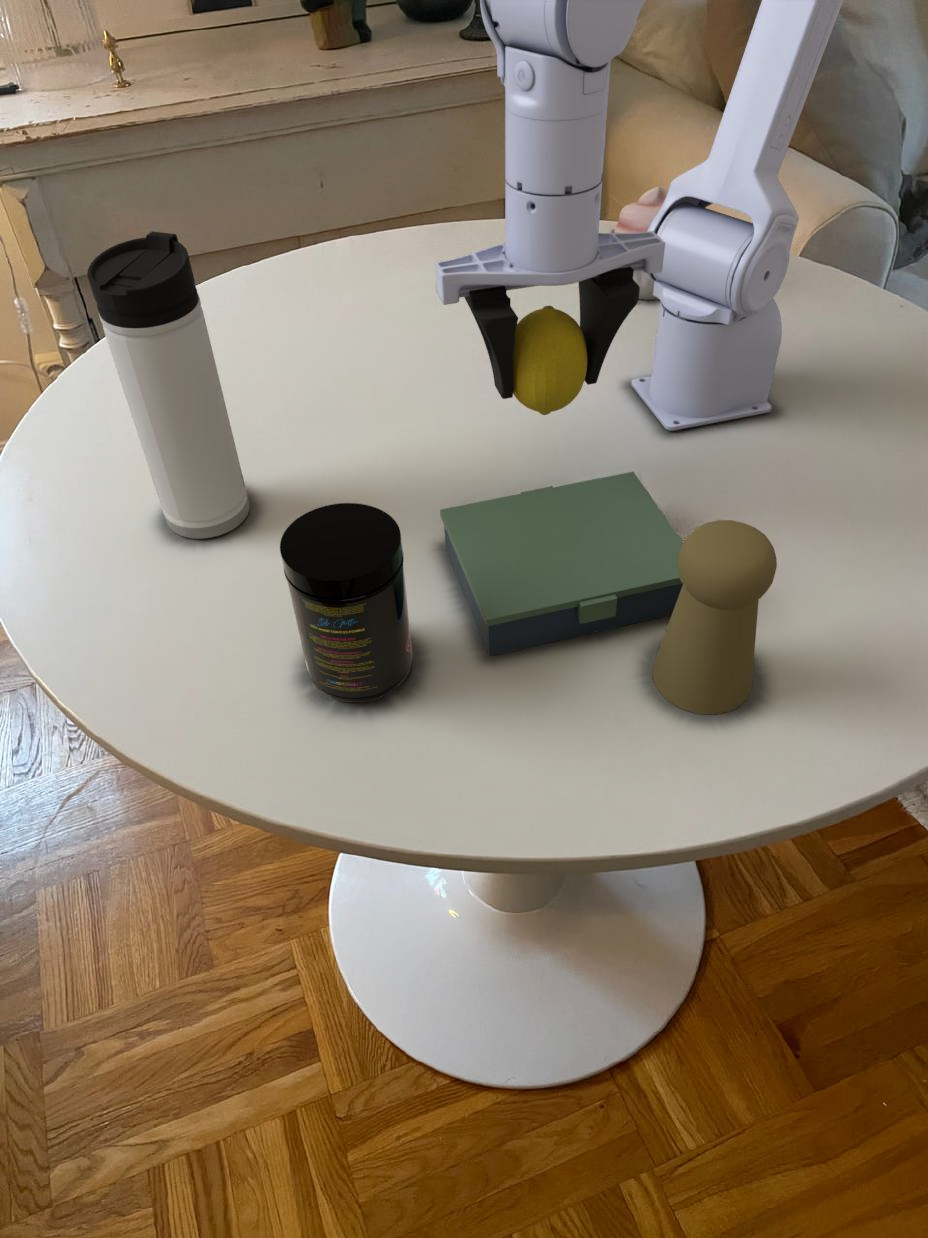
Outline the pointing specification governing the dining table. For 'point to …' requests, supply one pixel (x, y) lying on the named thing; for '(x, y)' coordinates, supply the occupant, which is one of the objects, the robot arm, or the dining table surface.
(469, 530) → the lunchbox
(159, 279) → the travel mug
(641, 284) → the cupcake
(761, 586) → the brown pawn
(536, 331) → the lemon
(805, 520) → the dining table surface
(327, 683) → the supplement container
